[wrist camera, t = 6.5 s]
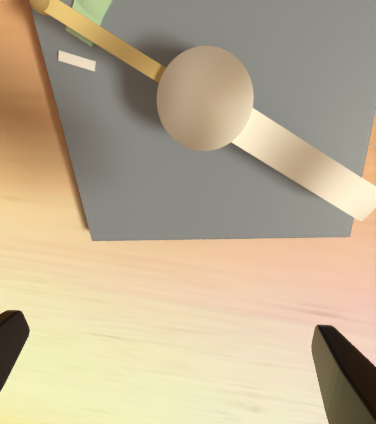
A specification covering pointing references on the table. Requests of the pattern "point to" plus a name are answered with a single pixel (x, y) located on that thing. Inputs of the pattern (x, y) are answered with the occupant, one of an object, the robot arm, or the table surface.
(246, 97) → the beige dial pointer lever
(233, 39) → the grey flat square plate
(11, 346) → the robot arm
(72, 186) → the table surface
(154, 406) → the table surface
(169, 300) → the table surface
